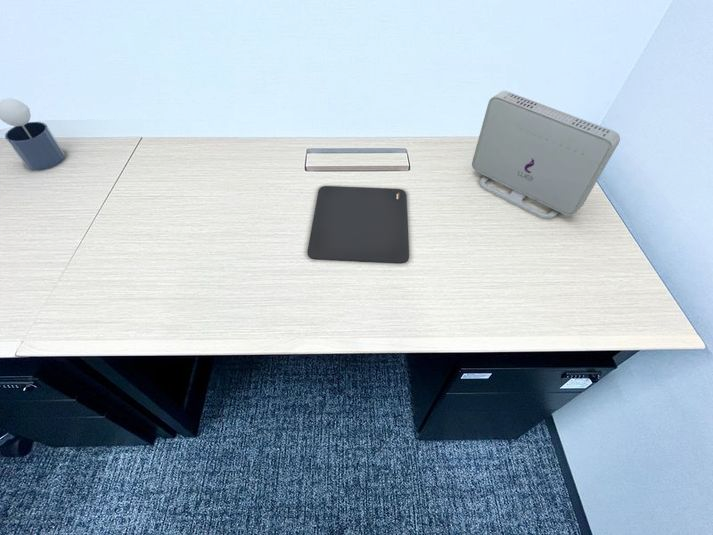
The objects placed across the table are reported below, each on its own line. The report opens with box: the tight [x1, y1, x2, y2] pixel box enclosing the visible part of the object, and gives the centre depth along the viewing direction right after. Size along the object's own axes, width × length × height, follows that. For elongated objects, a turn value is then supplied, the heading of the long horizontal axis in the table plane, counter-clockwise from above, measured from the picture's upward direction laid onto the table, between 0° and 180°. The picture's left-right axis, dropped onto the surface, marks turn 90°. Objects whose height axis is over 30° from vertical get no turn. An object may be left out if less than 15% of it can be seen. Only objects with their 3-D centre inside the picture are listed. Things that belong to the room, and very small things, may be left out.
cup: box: [4, 121, 66, 172], centre depth 96 cm, size 9×9×8 cm
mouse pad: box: [307, 185, 410, 264], centre depth 86 cm, size 23×20×1 cm
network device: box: [471, 90, 621, 220], centre depth 85 cm, size 26×9×20 cm, turn 47°
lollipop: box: [0, 97, 32, 139], centre depth 93 cm, size 6×6×15 cm
